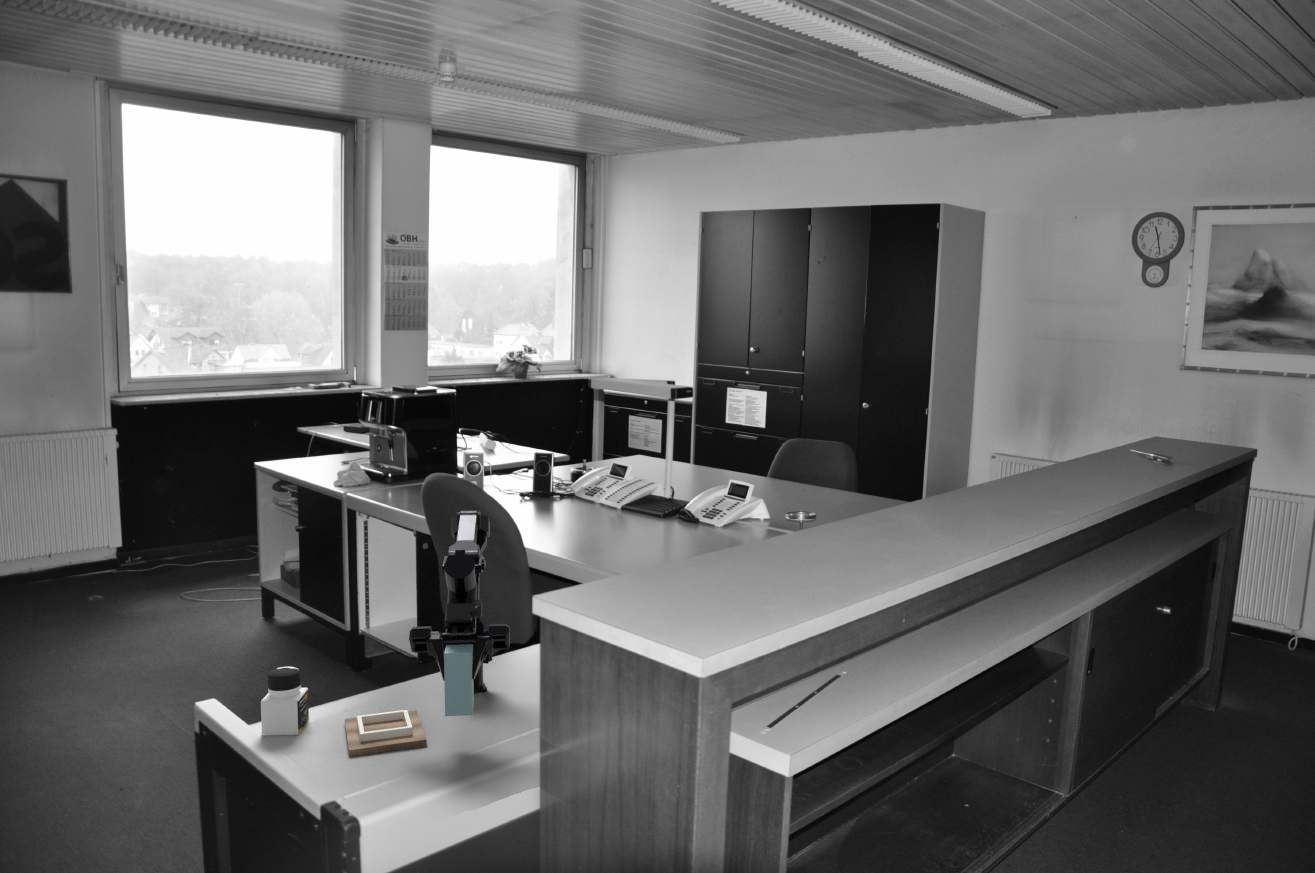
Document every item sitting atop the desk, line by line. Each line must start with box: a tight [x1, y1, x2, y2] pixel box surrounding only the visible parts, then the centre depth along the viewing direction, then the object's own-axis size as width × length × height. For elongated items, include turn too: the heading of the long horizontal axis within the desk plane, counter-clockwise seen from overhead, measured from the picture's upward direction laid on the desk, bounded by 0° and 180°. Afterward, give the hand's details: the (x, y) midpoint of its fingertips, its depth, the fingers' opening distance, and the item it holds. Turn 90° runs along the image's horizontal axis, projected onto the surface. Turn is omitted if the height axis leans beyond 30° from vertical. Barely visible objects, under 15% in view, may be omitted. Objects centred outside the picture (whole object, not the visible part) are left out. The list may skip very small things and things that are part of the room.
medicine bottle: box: [260, 666, 310, 737], centre depth 188 cm, size 7×7×12 cm
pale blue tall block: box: [443, 644, 475, 717], centre depth 180 cm, size 5×5×12 cm
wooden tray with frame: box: [344, 709, 428, 757], centre depth 185 cm, size 16×14×3 cm
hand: (458, 678), depth 178 cm, fingers closed on pale blue tall block, 5 cm apart
